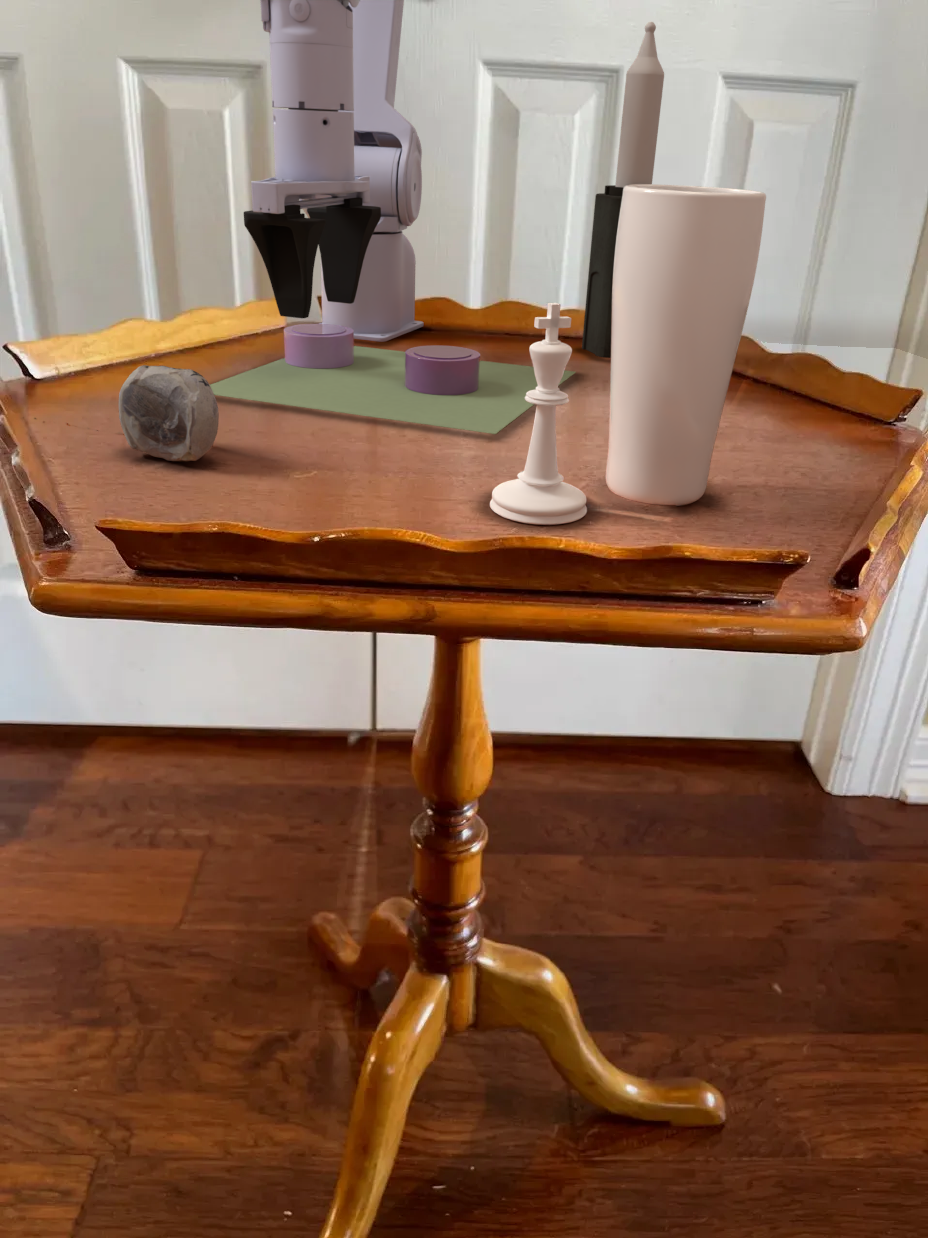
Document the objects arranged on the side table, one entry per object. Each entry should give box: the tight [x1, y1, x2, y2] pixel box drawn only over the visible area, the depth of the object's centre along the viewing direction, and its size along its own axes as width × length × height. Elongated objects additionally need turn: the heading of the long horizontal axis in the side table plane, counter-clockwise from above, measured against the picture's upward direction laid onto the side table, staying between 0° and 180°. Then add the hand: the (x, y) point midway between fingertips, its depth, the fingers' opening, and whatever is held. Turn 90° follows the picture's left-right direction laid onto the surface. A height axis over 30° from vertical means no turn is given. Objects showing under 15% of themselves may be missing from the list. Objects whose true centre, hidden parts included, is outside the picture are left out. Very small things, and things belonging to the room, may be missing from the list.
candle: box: [581, 21, 665, 359], centre depth 81 cm, size 5×5×25 cm
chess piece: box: [489, 302, 588, 526], centre depth 48 cm, size 5×5×10 cm
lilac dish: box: [283, 323, 355, 369], centre depth 77 cm, size 5×5×2 cm
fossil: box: [118, 364, 220, 462], centre depth 54 cm, size 6×3×5 cm, turn 68°
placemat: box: [209, 345, 577, 435], centre depth 73 cm, size 20×22×1 cm
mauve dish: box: [404, 344, 481, 395], centre depth 71 cm, size 5×5×2 cm
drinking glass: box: [604, 183, 767, 507], centre depth 50 cm, size 7×7×15 cm
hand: (318, 309), depth 76 cm, fingers open, 7 cm apart
